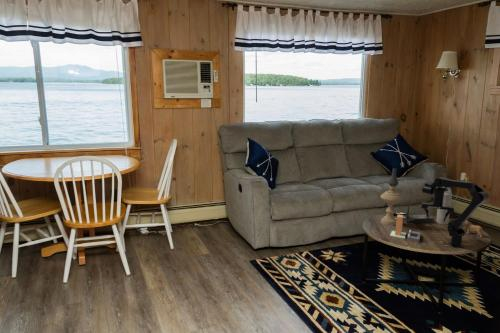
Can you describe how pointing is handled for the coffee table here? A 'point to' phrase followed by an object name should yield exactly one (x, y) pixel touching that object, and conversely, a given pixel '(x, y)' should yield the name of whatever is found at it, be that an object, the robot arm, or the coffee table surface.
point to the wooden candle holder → (391, 200)
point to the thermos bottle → (445, 203)
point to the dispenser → (412, 234)
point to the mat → (397, 235)
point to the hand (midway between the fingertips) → (435, 220)
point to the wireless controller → (418, 217)
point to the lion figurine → (472, 228)
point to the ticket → (399, 225)
